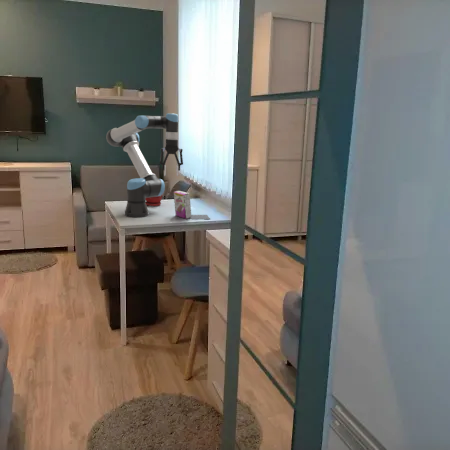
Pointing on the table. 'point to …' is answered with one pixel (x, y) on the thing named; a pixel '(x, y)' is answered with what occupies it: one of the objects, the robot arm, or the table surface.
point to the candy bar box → (182, 204)
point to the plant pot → (153, 201)
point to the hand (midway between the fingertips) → (171, 175)
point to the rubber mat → (199, 217)
